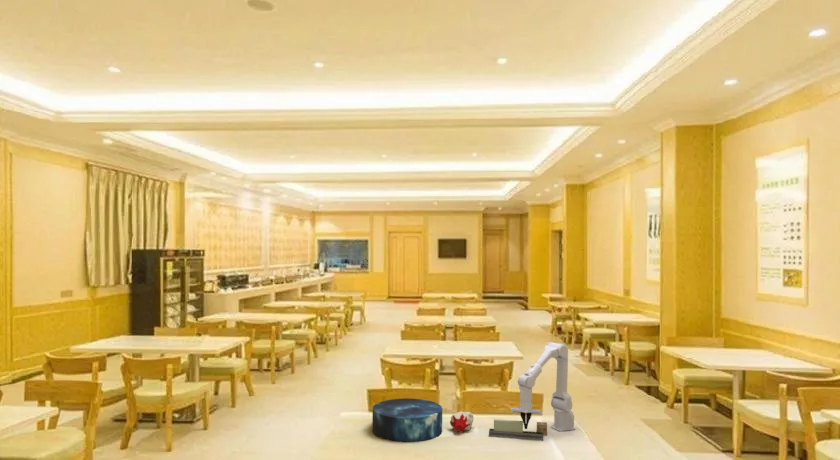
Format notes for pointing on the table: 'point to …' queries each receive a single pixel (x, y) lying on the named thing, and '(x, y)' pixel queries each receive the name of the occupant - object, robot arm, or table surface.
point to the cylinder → (407, 420)
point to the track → (517, 435)
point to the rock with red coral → (461, 421)
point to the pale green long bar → (508, 425)
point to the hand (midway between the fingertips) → (525, 428)
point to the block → (542, 427)
